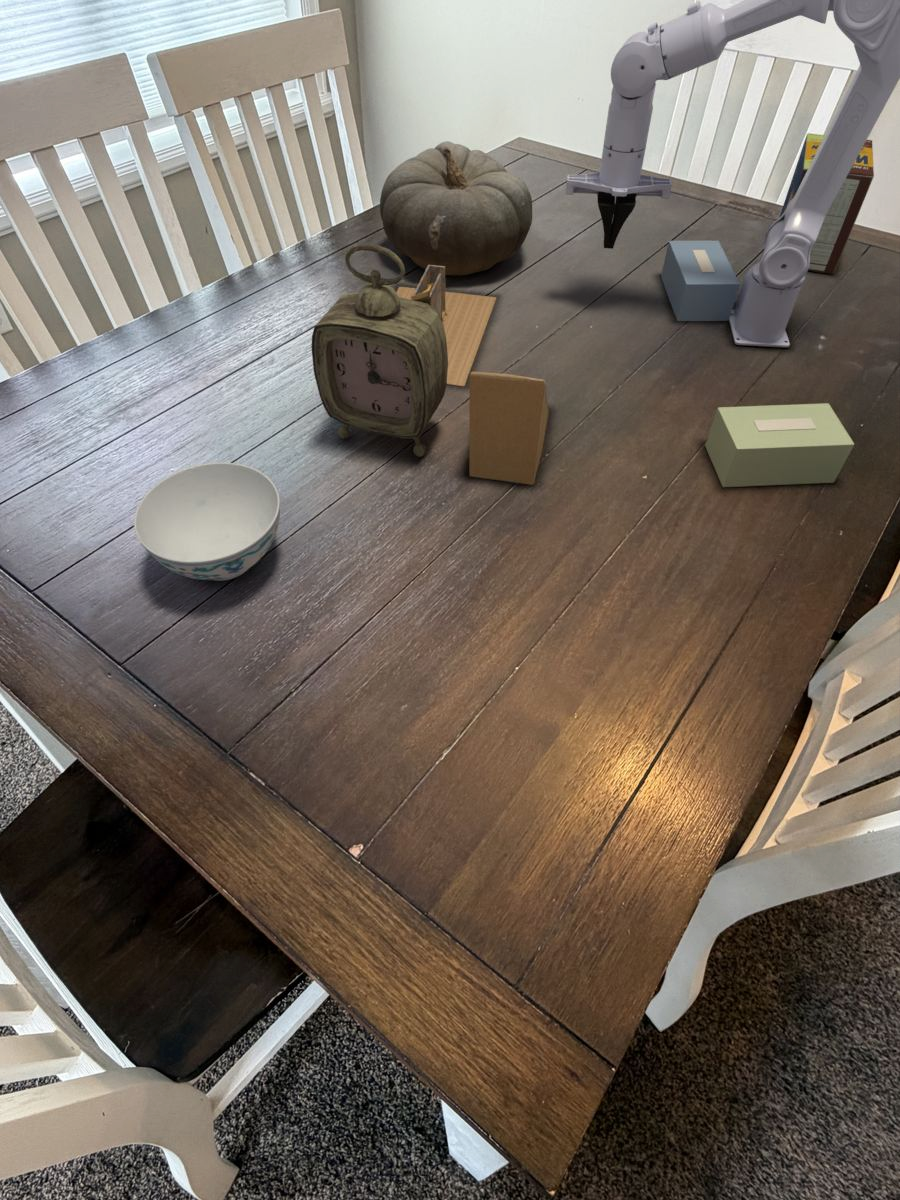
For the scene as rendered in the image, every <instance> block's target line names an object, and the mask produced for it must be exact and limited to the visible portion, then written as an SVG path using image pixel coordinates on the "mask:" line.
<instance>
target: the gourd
mask: <svg viewBox="0 0 900 1200" xmlns="http://www.w3.org/2000/svg"><path fill="white" fill-rule="evenodd" d="M379 212H380V218H381V221H382V226H383V232H384V234H385V236H386V238H387V239H388V241H389V242H390V244H391V245H392V246H393V247H394V248H395V249H396V250H397V251H398V252H400V253H401V254H403V255H404V256H407V257H409V258H410V259H411V260H412V262H413V263H414V264H416V265H417V266H418V267H420V268H421V269H424V270H426V268H427V266H428V265H436V266H445V276H458V277H460V276H468V275H473V274H476V273H478V272H484V271H486V270H489V269H491V268H492V267H493V266H494V265H496V264H497V263H500V262H504V261H506V260H508V259H509V258H511V257H512V256H514V254H516V253H517V252H518V250H520V248H521V247H522V246H523V244H524V242H525V241H526V238H527V236H528V233H529V231H530V229H531V227H532V224H533V199H532V194H531V192H530V189H529V187H528V185H527V184H526V182H525V181H524V180H523V179H521V177H520V176H517V175H516V174H514V173H511V172H508V171H507V169H506V168H505V166H504V165H503V164H502V163H501V162H500V161H498V160H496V159H495V158H493V157H492V156H491V155H489V154H488V153H486V152H484V151H482V150H480V149H473V150H471V149H469V147H467V146H465V145H463V144H460V143H454V142H451V141H449V140H447V141H442V142H440V143H439V144H437V145H436V146H435V147H432V148H427V149H425V150H423V151H421V152H419V153H418V154H417V155H416V156H413V157H410V158H408V159H406V160H404V161H403V162H402V163H400V164H399V165H398V166H396V167H395V168H394V169H393V170H392V171H391V172H390V173H389V174H388V176H387V177H386V179H385V181H384V183H383V185H382V189H381V193H380V199H379Z"/></svg>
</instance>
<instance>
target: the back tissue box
mask: <svg viewBox="0 0 900 1200" xmlns="http://www.w3.org/2000/svg"><path fill="white" fill-rule="evenodd" d="M665 252H666V253H665V257H664V261H663V266H662V270H661V274H660V278H661V281H662V284H663V286H664V289H665V292H666V295H667V296H668V300H669V303H670V305H671V308H672V311H673V314H674V317H675V320H676V322H729V317H730V314H731V311H732V310H733V307H734V304H735V301H736V298H737V294H738V292H739V288H740V286H741V283H740V281H739V279H738V278H737V277H738V276H736V273H735V271H734V269H733V267H732V265H731V263H730V261H729V259H728V257H727V255H726V253H725V251H724V249H723V247H722V245H721V243H720V241H719V240H668V244H667V247H666V251H665Z"/></svg>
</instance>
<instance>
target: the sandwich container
mask: <svg viewBox="0 0 900 1200" xmlns="http://www.w3.org/2000/svg"><path fill="white" fill-rule="evenodd" d="M548 405H549V404H548V397H547V381H546V380H545V379H542V378H536V377H529V376H522V375H517V374H510V373H499V372H484V371H470V373H469V437H468V439H469V441H468V442H469V448H468V449H469V455H468V456H469V464H468V465H469V467H468V468H469V471H468V472H469V475H468V476H469V477H473V478H479V479H488V480H492V481H493V480H494V481H495V480H496V481H501V482H508V483H517V484H523V485H531V486H532V485H534V484H535V480H536V476H537V473H538V469H539V466H540V465H539V464H540V461H541V458H542V453H543V449H544V441H545V437H546V431H547V424H548V418H549V413H550V411H549V406H548Z"/></svg>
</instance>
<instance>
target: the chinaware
mask: <svg viewBox="0 0 900 1200" xmlns="http://www.w3.org/2000/svg"><path fill="white" fill-rule="evenodd" d="M280 516H281V499H280V495H279V491H278V488H277V487H276V485H275V484H274V482H273V481H272V480H271V479H270V478H269V477H268V476H267V475H266V474H264V473H263V472H261V471H260V470H258V469H256V468H254V467H251V466H248V465H244V464H241V463H233V462H209V463H204V464H203V463H202V464H198V465H194V466H190V467H188V468H184V469H181V470H179V471H175V472H174V473H172V474H170V475H169V476H166V477H165V478H164V479H162V480H160V481H159V482H158V483H156V484H155V485H153V487H151V489H149V491H148V492H146V494H145V495H144V496H143V497H142V498H141V500H140V502H139V504H138V505H137V508H136V510H135V513H134V518H133V528H134V533H135V536H136V538H137V540H138V541H139V543H140V544H141V546H142V547H143V548H144V550H145V551H146V552H147V553H148V554H149V555H150V556H151V557H152V558H153V559H154V560H156V561H157V562H158V563H159V564H160V565H161V566H163V567H164V568H166V569H168V570H170V571H171V572H173V573H174V574H175V573H176V574H178V575H180V576H183V577H186V578H188V579H189V578H190V579H193V580H200V581H219V582H220V581H229V580H232V579H235V578H238V577H240V576H241V575H243V574H244V573H246V572H247V571H248V570H250V568H251V567H253V566H254V565H256V564H258V562H259V561H260V560H262V559H263V557H264V556H265V555H266V554H267V552H268V551H269V549H270V547H271V546H272V544H273V542H274V540H275V537H276V535H277V531H278V528H279V524H280Z"/></svg>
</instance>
